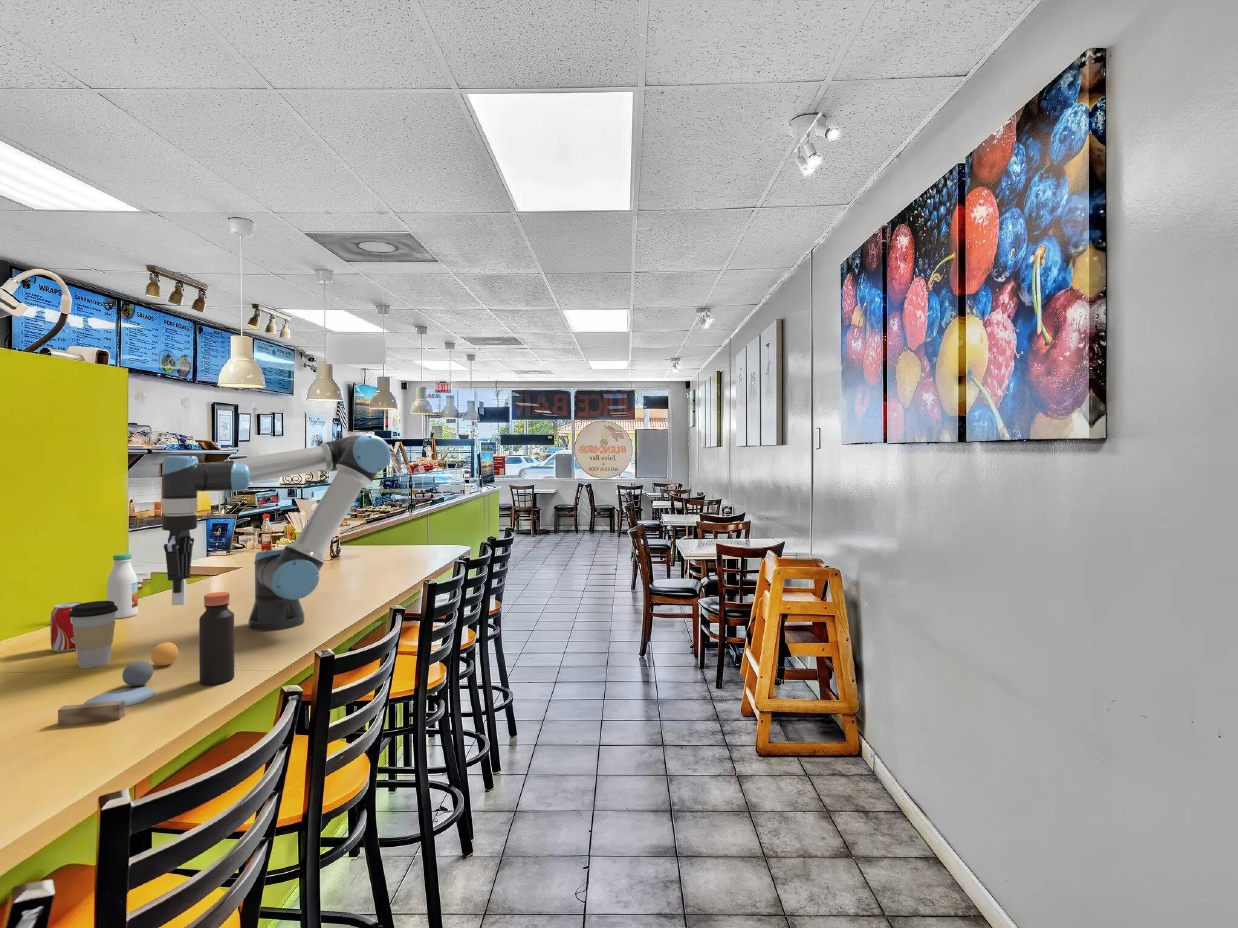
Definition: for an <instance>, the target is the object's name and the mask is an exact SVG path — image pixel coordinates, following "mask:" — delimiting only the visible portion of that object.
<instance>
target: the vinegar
mask: <svg viewBox="0 0 1238 928" xmlns="http://www.w3.org/2000/svg"><path fill="white" fill-rule="evenodd" d="M203 601H204V602H203V604H204V608H205V611H204V612H203V613H202V614H201V615H200V616H199V621H198V623H199V627H198V629H199V630H198V631H199V634H198V636H199V637H198V639H199V643H198V644H199V646H198V648H199V651H198V652H199V654H198V655H199V683H200V684H201V685H203V686H214V685H220V684H225V683H228V682H230V681H232V680H233V679H234V678H235V613H234V612H233V611H232V610H230V609H229V608H228V607H229V605H230V592H226V591H219V592H218V591H217V592H216V591H215V592H211V593H210V592H209V593H206V594H205V595H204V596H203Z"/></svg>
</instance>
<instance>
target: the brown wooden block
mask: <svg viewBox="0 0 1238 928" xmlns="http://www.w3.org/2000/svg"><path fill="white" fill-rule="evenodd" d="M125 708H126V707H125V704H124V701H114V702H102V703H91V704H84V703H82V704H81V703H80V704H71V705H63V706H62V707H60V708H59V709H58V710H57V726H65V725H66V726H67V725H76V724H86V723H87V724H88V723H98V722H99V723H100V722H109V721H120V720H121V719H123V717H124V716H125Z"/></svg>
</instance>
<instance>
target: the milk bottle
mask: <svg viewBox="0 0 1238 928" xmlns="http://www.w3.org/2000/svg"><path fill="white" fill-rule="evenodd" d="M112 559H113V567H112V570H111V571H110V573H109V575H108V578H107V581H106V582H107V584H106V601H113V602H114V604H115V605H116V606H117V608H118V610H117V611H116V612H115V620H116V619H124V618H131V617H134V616H136V615H138V614H139V612H138V611H139V602H138V601H139V598H138V597H139V593H138V592H139V591H138V590H139V586H138V585H139V583H138V582H139V581H138V576H137V573H136V571H135V570H134V568H133V566H132V563H131V561H132V554H131V553H129V552H128V553H116V554H113V556H112Z"/></svg>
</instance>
